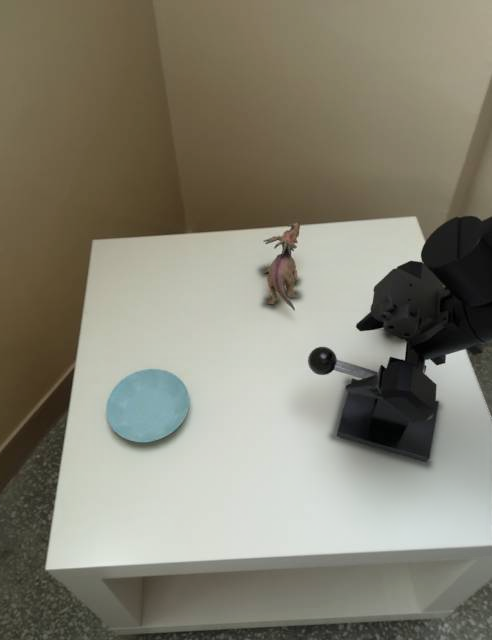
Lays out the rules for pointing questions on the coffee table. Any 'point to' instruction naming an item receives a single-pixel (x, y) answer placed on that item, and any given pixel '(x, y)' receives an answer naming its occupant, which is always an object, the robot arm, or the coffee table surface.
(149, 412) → the saucer
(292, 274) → the dinosaur figurine
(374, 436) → the bracket
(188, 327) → the coffee table surface
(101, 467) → the coffee table surface
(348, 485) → the coffee table surface
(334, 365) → the lever
